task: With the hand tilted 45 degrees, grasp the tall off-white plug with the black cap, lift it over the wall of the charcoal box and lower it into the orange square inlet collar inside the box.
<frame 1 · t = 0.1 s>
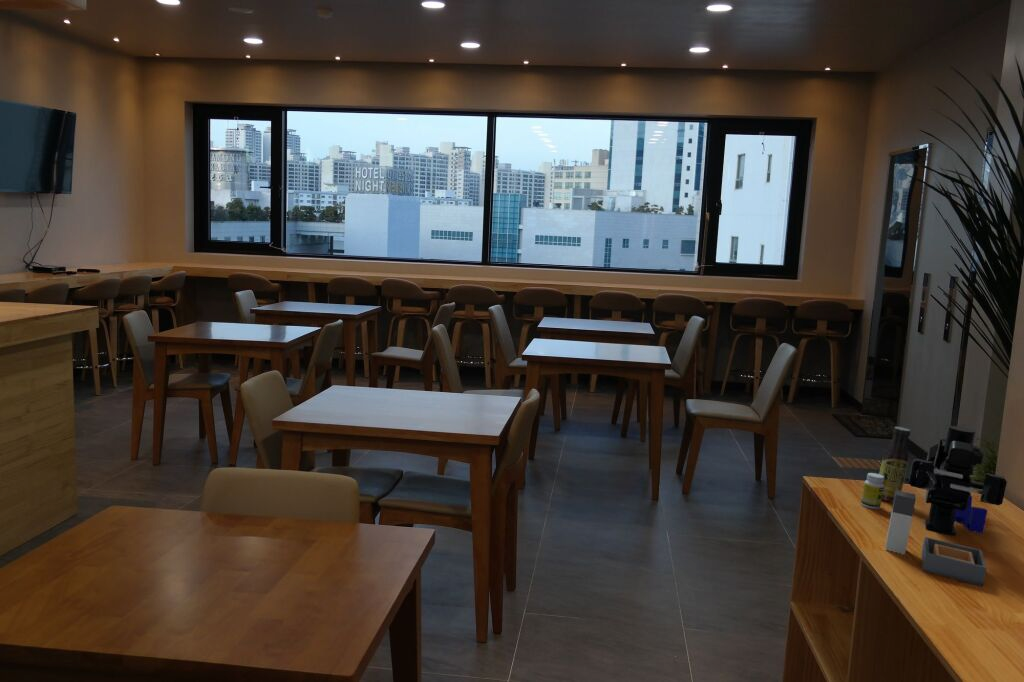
hand: (958, 491, 176), 17 cm above the table, tool horizontal, fingers open, 9 cm apart
cable clip: (964, 524, 208), on the table
sauce bottle: (887, 500, 220), on the table
plug: (895, 549, 184), on the table
supplement bottle: (870, 506, 213), on the table
walled box: (950, 569, 175), on the table
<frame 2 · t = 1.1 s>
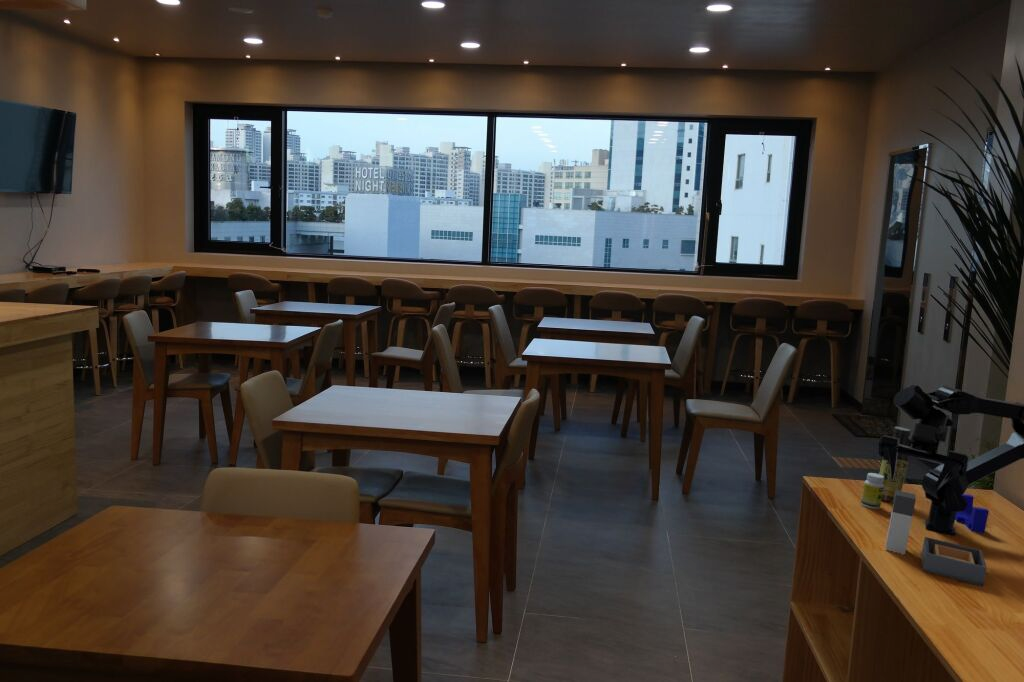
hand: (913, 484, 187), 14 cm above the table, tool tilted 45°, fingers open, 9 cm apart
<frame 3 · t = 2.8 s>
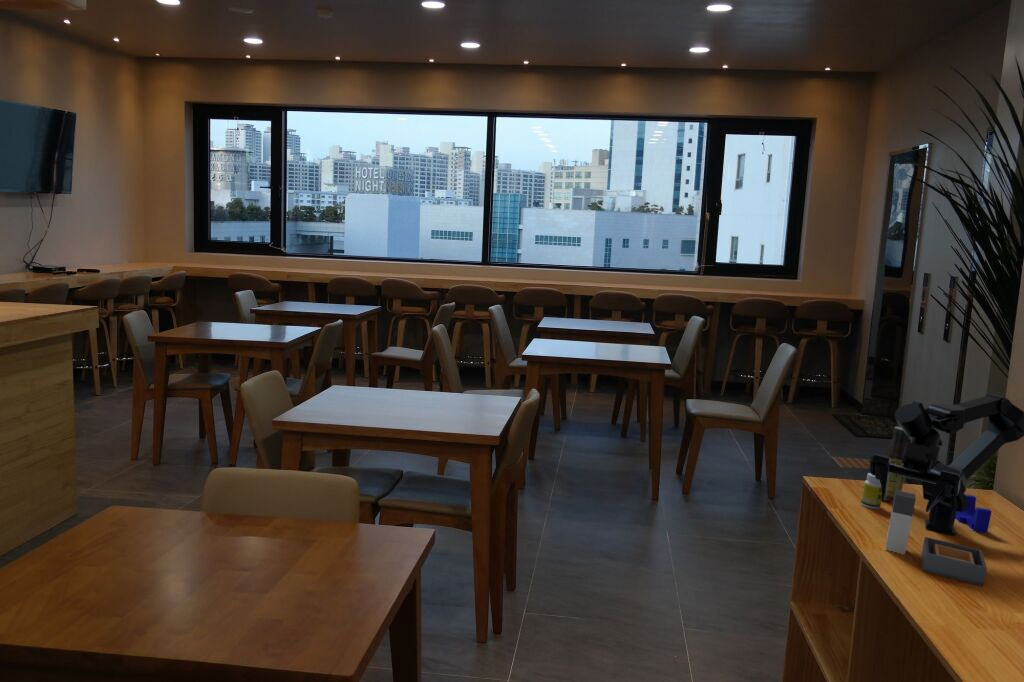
hand: (904, 505, 184), 10 cm above the table, tool tilted 45°, fingers open, 9 cm apart
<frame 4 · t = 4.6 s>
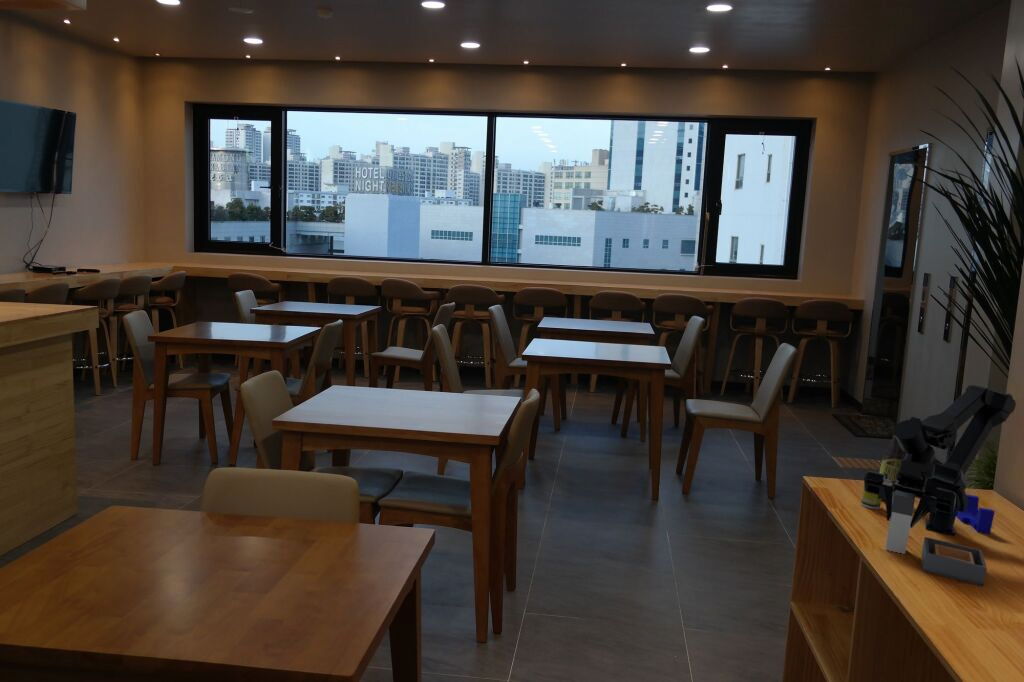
hand: (899, 523, 181), 7 cm above the table, tool tilted 45°, fingers closed on plug, 4 cm apart
plug: (895, 549, 184), on the table, touching gripper
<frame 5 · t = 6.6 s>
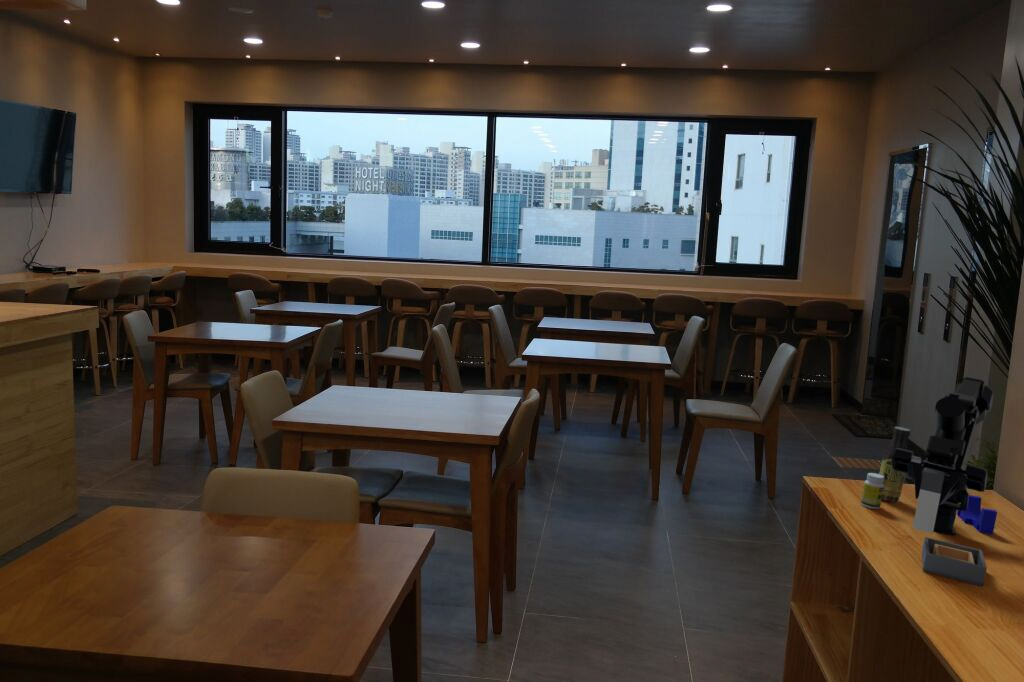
hand: (928, 500, 177), 13 cm above the table, tool tilted 45°, fingers closed on plug, 4 cm apart
plug: (923, 528, 179), point 7 cm above the table, touching gripper
when the fingers open (9 cm above the table, at t = 8.6 s): plug drops 1 cm, resting on walled box.
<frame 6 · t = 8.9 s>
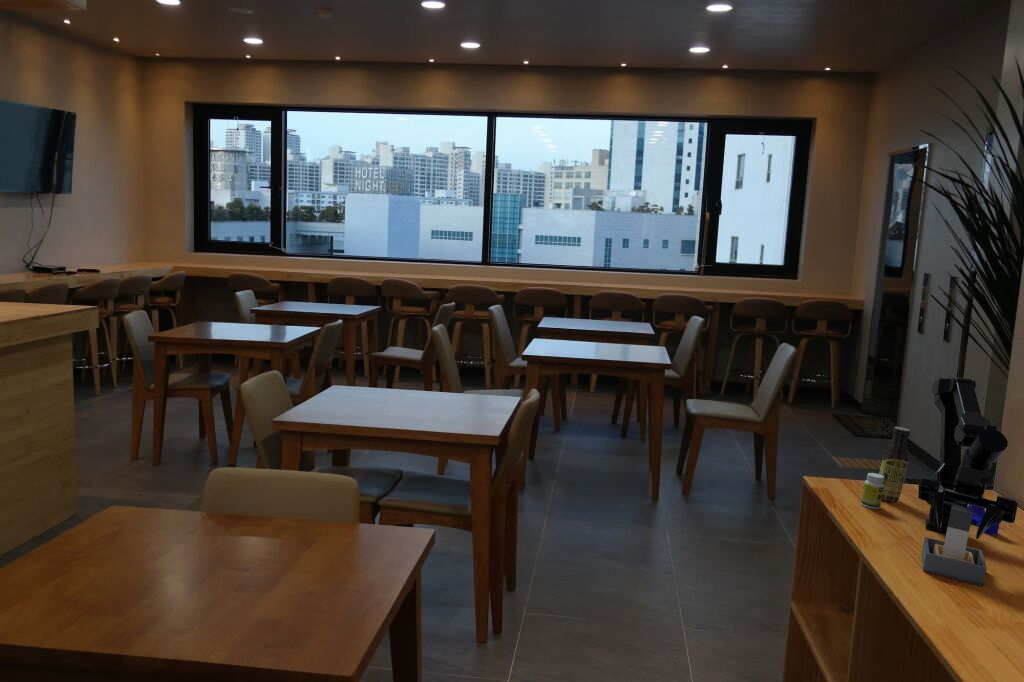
hand: (957, 532, 173), 9 cm above the table, tool tilted 45°, fingers open, 7 cm apart
plug: (950, 566, 175), point 1 cm above the table, touching walled box
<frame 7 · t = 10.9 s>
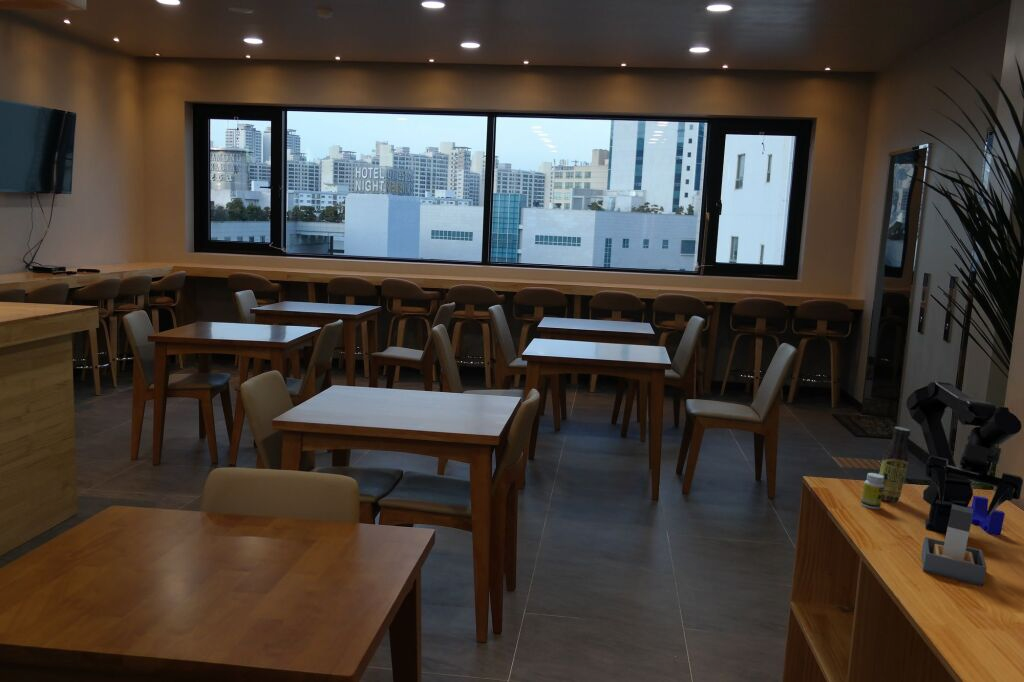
hand: (964, 508, 178), 12 cm above the table, tool tilted 45°, fingers open, 9 cm apart
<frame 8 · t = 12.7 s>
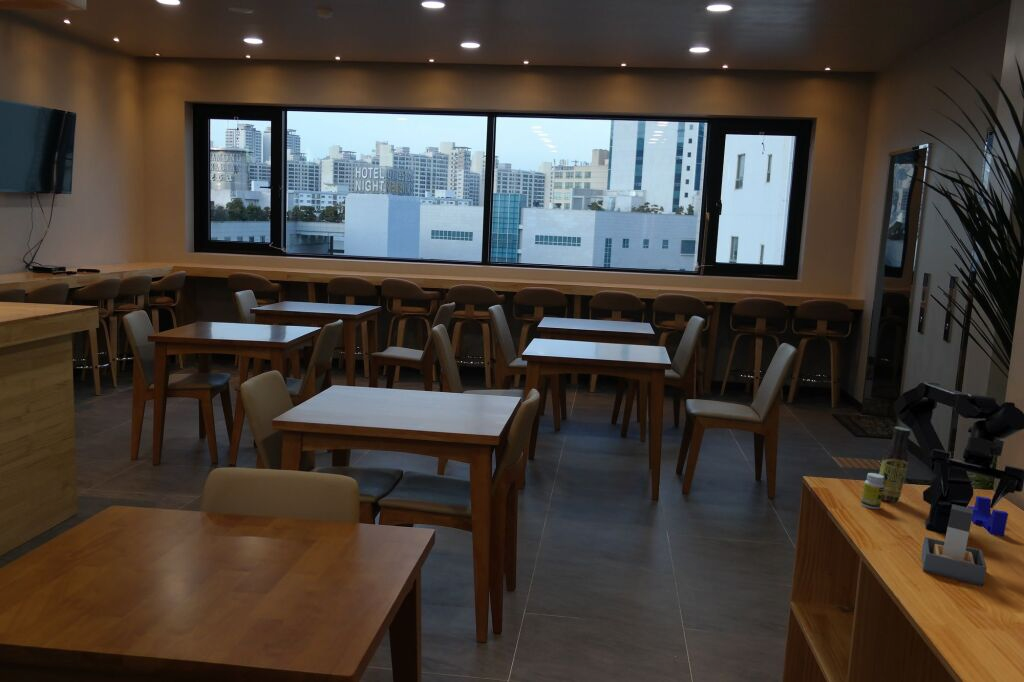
hand: (967, 501, 180), 14 cm above the table, tool tilted 45°, fingers open, 9 cm apart
at the end: plug 0.1 cm off-centre on the walled box, point 0.6 cm above the walled box's base; plug tilted 0°; the gripper is holding nothing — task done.
